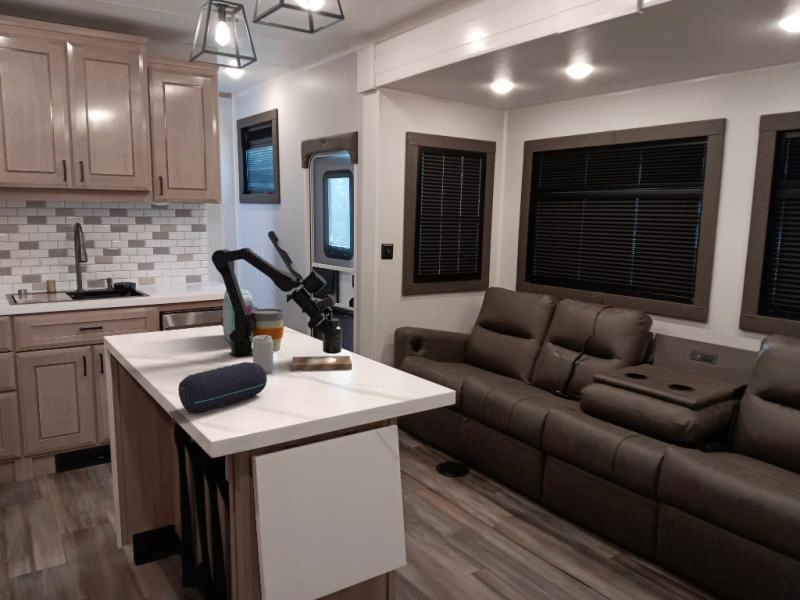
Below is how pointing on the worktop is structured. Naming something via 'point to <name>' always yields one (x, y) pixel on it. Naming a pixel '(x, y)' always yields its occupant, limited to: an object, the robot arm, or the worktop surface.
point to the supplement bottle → (333, 338)
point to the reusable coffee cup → (270, 325)
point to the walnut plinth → (322, 363)
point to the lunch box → (228, 313)
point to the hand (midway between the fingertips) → (336, 334)
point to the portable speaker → (221, 386)
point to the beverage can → (263, 352)
